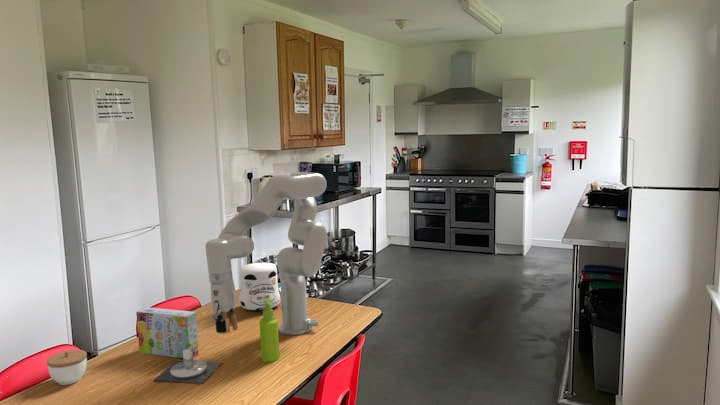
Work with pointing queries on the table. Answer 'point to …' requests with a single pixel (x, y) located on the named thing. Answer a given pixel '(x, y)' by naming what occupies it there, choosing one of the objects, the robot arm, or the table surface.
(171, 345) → the snack box
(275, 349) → the soap dispenser
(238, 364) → the table surface
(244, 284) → the milk container
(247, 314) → the table surface
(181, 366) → the grey peg stand
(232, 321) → the ring
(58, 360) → the lidded jar
